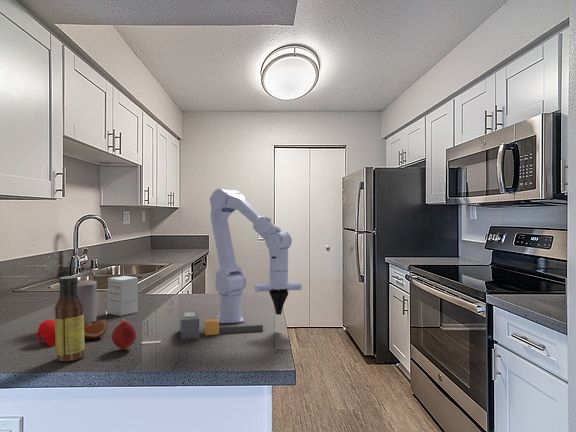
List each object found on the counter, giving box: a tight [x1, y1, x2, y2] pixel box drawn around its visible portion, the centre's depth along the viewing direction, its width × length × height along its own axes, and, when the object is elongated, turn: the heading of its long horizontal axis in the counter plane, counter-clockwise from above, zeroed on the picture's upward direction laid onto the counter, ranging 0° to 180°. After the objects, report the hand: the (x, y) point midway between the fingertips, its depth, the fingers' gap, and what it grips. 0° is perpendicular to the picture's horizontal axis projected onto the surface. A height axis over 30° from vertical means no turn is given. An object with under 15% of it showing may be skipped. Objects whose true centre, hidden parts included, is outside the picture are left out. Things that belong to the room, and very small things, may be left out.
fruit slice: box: [84, 318, 109, 340], centre depth 120 cm, size 8×7×5 cm
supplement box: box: [107, 275, 139, 317], centre depth 151 cm, size 7×7×13 cm
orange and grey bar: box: [203, 317, 264, 336], centre depth 128 cm, size 18×4×4 cm, turn 105°
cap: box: [35, 319, 56, 347], centre depth 115 cm, size 8×6×6 cm
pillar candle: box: [77, 278, 98, 323], centre depth 133 cm, size 10×10×15 cm
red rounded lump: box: [111, 318, 137, 351], centre depth 110 cm, size 6×6×8 cm
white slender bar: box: [140, 340, 162, 345], centre depth 116 cm, size 1×5×1 cm, turn 105°
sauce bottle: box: [54, 275, 86, 363], centre depth 103 cm, size 6×6×20 cm
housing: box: [179, 310, 200, 341], centre depth 125 cm, size 11×5×6 cm, turn 15°
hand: (278, 313), depth 132 cm, fingers closed
